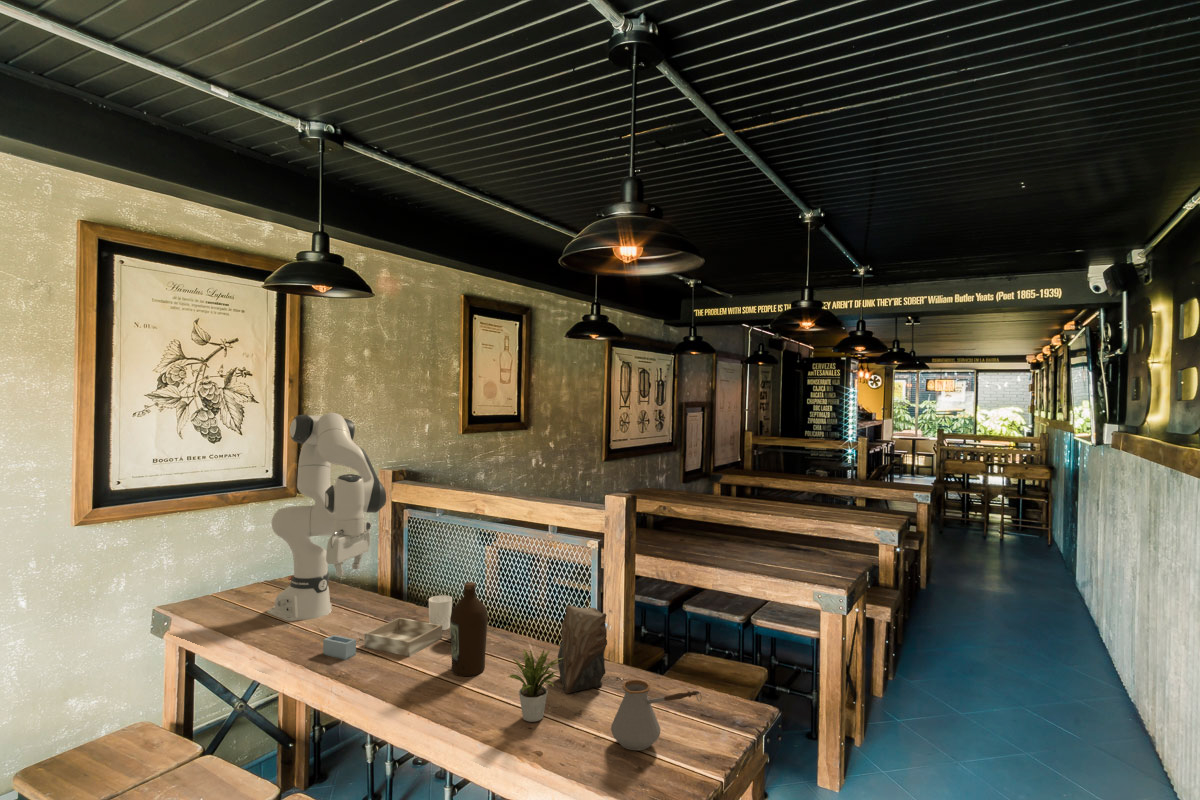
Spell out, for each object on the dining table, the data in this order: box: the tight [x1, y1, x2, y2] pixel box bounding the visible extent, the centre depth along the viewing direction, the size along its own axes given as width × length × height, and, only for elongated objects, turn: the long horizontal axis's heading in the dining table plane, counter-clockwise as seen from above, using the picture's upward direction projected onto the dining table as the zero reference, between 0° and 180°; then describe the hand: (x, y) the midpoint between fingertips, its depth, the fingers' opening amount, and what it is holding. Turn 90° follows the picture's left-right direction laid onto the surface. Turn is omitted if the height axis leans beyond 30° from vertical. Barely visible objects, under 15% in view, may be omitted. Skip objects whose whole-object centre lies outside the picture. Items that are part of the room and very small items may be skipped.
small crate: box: [322, 634, 357, 661], centre depth 189 cm, size 9×4×5 cm, turn 68°
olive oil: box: [450, 581, 489, 677], centre depth 181 cm, size 11×11×25 cm
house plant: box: [508, 648, 563, 723], centre depth 153 cm, size 14×14×16 cm
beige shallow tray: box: [363, 617, 443, 658], centre depth 199 cm, size 18×16×4 cm
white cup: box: [428, 594, 453, 631], centre depth 214 cm, size 8×8×10 cm
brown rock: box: [557, 604, 608, 695], centre depth 174 cm, size 13×13×20 cm
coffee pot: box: [610, 679, 702, 751], centre depth 141 cm, size 21×12×15 cm, turn 62°
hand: (348, 572), depth 192 cm, fingers open, 8 cm apart
